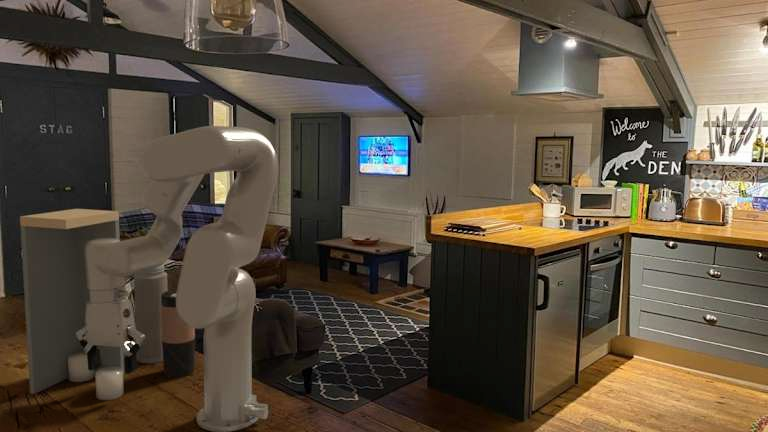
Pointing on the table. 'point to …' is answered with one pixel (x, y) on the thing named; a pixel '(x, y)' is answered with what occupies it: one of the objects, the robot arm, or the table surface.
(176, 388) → the table surface
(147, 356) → the thermos bottle
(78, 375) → the cream rounded knob
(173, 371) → the travel mug
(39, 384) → the counter
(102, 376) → the cream smooth rounded cylinder
